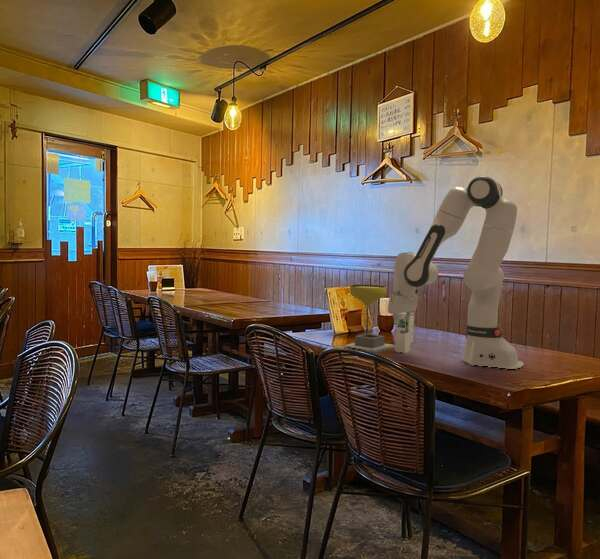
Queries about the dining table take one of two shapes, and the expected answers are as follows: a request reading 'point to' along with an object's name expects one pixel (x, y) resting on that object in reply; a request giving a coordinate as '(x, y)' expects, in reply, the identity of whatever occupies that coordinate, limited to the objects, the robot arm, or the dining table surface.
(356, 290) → the cocktail glass
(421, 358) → the dining table surface
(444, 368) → the dining table surface
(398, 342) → the plug
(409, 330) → the syrup box
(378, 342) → the socket
